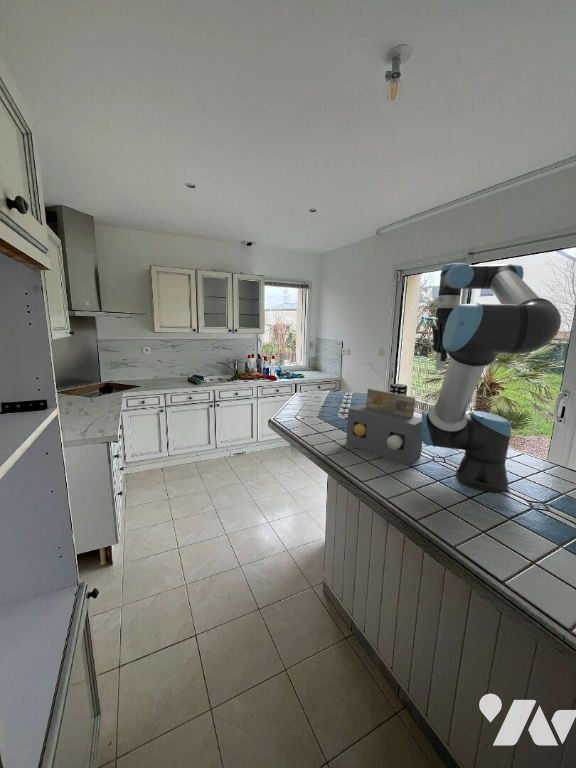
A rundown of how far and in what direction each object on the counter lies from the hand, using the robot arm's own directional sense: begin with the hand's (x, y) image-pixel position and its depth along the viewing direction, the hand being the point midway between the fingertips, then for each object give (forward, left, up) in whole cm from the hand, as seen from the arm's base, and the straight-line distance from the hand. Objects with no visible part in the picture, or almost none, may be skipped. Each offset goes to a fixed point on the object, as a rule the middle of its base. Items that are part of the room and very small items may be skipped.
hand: (439, 369), depth 123 cm
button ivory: (-7, +21, -29) cm, 36 cm away
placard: (+5, +18, -18) cm, 26 cm away
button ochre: (+7, +28, -29) cm, 41 cm away
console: (+3, +20, -34) cm, 40 cm away
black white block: (+36, -5, -35) cm, 50 cm away
